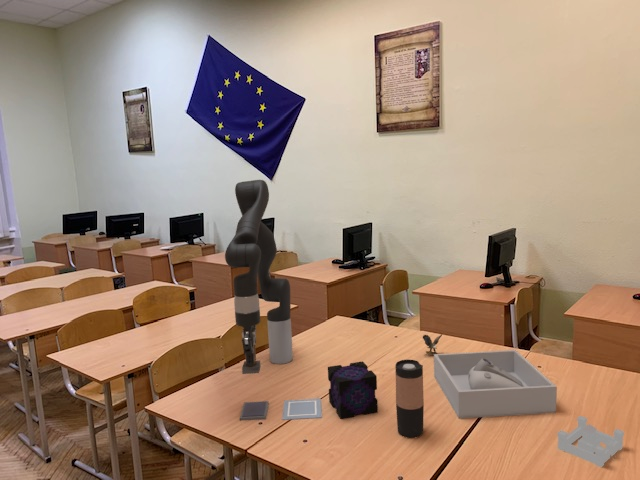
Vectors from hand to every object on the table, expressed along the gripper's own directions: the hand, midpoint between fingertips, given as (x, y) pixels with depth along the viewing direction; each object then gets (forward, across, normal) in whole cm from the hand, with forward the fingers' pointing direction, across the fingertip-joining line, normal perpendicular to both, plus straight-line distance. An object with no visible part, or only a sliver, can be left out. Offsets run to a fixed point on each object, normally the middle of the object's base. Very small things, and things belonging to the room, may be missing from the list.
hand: (251, 361), depth 152 cm
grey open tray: (+17, -4, +76) cm, 78 cm away
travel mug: (+17, +16, +46) cm, 52 cm away
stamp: (+3, 0, 0) cm, 3 cm away
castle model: (+17, +30, +90) cm, 97 cm away
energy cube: (+17, 0, +31) cm, 35 cm away
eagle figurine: (+17, -39, +66) cm, 78 cm away
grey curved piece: (+16, -4, +77) cm, 79 cm away
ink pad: (+17, 0, 0) cm, 17 cm away
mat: (+17, 0, +15) cm, 22 cm away
